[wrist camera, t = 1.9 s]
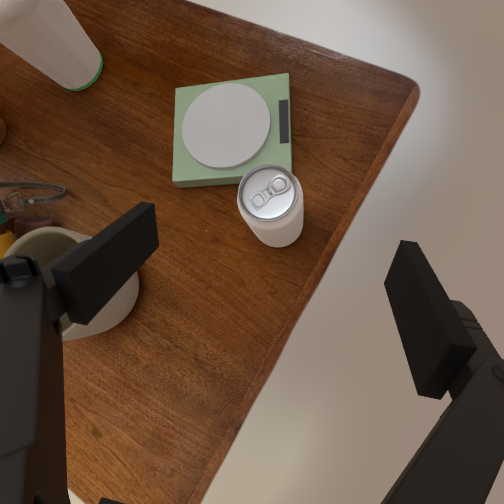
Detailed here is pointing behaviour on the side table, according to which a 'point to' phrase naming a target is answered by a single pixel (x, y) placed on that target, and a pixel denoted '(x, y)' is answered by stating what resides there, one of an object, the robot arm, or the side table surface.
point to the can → (272, 204)
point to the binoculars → (7, 223)
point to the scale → (230, 130)
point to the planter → (52, 246)
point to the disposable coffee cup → (2, 131)
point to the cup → (50, 41)
